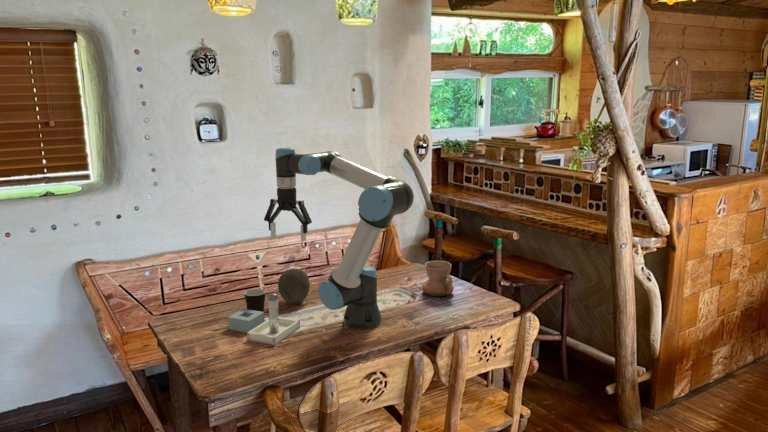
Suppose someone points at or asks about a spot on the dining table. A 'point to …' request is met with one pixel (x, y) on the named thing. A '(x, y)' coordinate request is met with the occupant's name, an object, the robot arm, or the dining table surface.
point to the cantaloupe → (293, 285)
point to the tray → (264, 335)
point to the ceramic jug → (438, 278)
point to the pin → (273, 313)
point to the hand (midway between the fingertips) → (288, 239)
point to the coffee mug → (255, 299)
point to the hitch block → (245, 320)
